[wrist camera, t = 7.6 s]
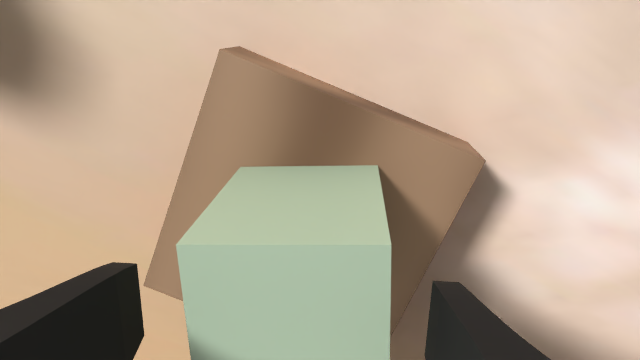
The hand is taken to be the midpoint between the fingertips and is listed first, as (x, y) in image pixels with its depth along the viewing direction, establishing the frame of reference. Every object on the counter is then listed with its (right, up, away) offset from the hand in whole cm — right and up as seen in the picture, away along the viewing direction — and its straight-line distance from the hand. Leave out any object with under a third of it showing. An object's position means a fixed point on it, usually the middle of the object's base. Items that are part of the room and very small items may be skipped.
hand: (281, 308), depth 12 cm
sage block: (+1, +1, +5) cm, 5 cm away
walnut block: (+1, +2, +8) cm, 8 cm away
